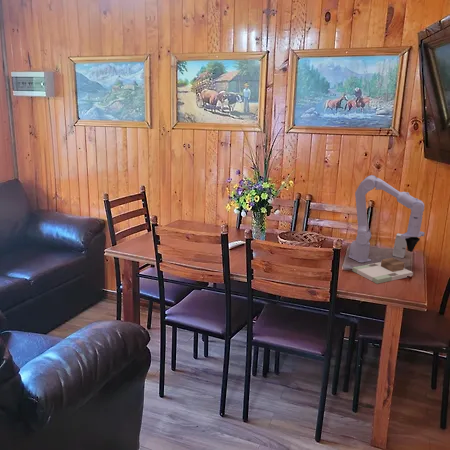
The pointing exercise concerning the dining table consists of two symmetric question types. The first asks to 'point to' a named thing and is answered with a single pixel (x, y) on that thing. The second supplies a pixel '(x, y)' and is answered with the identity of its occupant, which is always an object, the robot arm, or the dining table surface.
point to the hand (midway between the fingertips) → (409, 251)
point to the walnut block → (392, 264)
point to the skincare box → (399, 246)
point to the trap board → (380, 273)
